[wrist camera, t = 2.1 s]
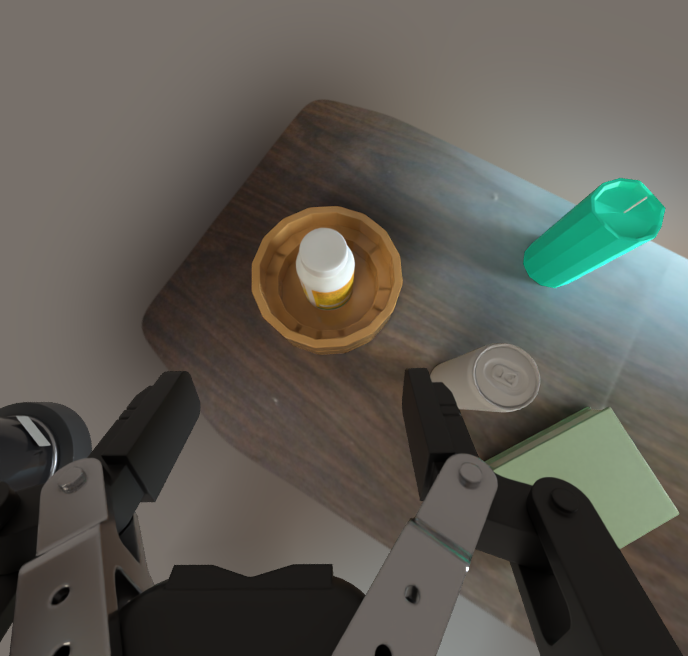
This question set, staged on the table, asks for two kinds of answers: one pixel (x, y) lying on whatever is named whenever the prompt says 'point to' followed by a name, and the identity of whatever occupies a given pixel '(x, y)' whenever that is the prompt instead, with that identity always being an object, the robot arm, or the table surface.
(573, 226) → the candle
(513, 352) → the beverage can
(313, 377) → the table surface
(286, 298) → the bowl
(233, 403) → the table surface
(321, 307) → the supplement bottle
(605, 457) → the book
